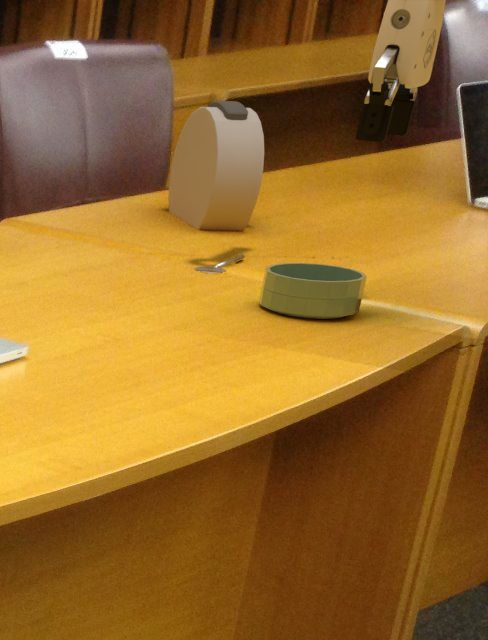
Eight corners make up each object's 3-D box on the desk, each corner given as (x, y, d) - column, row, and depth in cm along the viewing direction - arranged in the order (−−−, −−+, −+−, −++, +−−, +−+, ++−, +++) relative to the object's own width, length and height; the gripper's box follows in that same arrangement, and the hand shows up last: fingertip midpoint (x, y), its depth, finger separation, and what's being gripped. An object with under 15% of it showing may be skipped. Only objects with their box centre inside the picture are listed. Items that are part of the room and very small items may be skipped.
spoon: (226, 258, 233) (228, 251, 233) (256, 261, 231) (257, 255, 230) (188, 275, 222) (190, 268, 222) (219, 279, 220) (220, 272, 219)
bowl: (368, 308, 203) (376, 270, 201) (342, 325, 195) (350, 285, 192) (275, 296, 210) (282, 259, 207) (246, 311, 201) (253, 273, 199)
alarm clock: (249, 240, 247) (277, 111, 238) (202, 239, 247) (229, 110, 238) (204, 214, 266) (229, 93, 256) (161, 213, 266) (184, 92, 256)
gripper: (437, -16, 168) (395, 147, 176) (473, -18, 180) (432, 135, 188) (365, -20, 172) (327, 140, 180) (405, -21, 184) (368, 128, 192)
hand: (381, 137), depth 184 cm, fingers open, 9 cm apart
